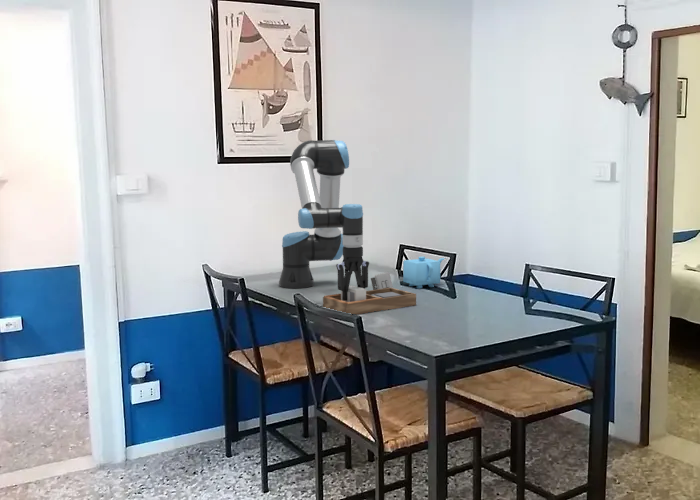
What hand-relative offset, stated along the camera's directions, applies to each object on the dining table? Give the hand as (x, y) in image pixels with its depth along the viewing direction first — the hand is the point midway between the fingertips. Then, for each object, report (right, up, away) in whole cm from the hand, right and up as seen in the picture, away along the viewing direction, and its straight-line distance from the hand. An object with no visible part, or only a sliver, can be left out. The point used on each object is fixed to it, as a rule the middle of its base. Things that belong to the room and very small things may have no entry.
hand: (353, 307), depth 285 cm
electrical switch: (+12, +3, +26) cm, 29 cm away
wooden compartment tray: (+6, 0, +4) cm, 8 cm away
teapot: (+32, +6, +47) cm, 58 cm away
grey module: (+13, 0, +8) cm, 16 cm away
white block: (0, 0, 0) cm, 0 cm away
